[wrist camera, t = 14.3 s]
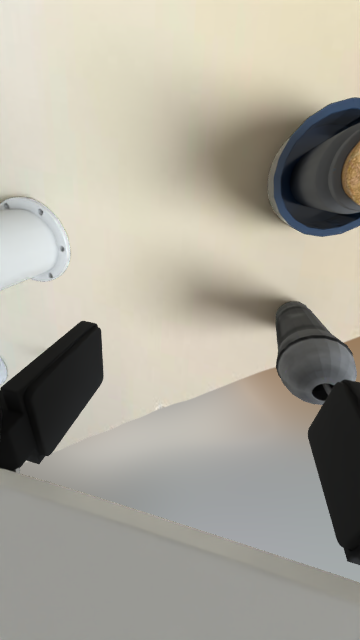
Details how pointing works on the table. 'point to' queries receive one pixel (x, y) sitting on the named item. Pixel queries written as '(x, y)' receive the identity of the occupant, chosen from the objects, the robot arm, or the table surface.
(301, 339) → the beverage cup
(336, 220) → the desk pot
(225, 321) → the table surface
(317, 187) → the bottle
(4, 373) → the utensil holder
